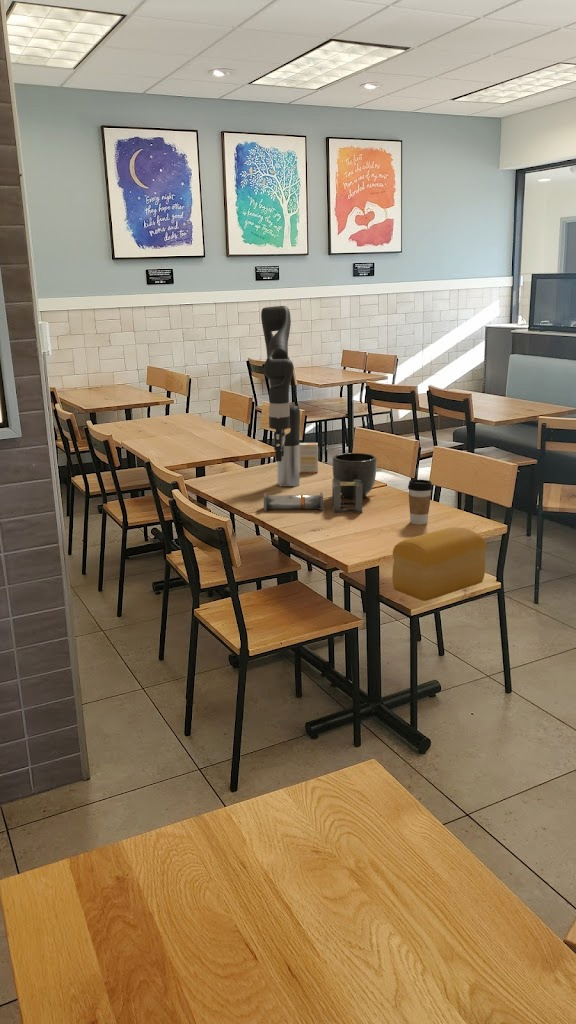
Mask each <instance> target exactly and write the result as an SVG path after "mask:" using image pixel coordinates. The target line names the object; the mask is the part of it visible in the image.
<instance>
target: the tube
mask: <svg viewBox="0 0 576 1024" xmlns="http://www.w3.org/2000/svg"><path fill="white" fill-rule="evenodd" d="M268 509H269V510H273V509H274V510H275V509H276V510H280V509H281V510H286V509H288V510H289V509H290V510H291V509H295V510H296V509H297V510H298V509H301V510H305V509H308V510H309V509H319V511H320V512H323V511H324V493H323V492H320V493H319V494H295V495H294V494H289V495H288V494H287V495H286V494H283V495H280V494H275V495H273V494H271V495H268V492H263V511H264V510H268Z"/></svg>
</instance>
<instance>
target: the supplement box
mask: <svg viewBox="0 0 576 1024" xmlns="http://www.w3.org/2000/svg"><path fill="white" fill-rule="evenodd" d="M318 445H319V444H318V442H299V473H300V472H318V471H319V446H318Z"/></svg>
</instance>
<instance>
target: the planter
mask: <svg viewBox="0 0 576 1024" xmlns="http://www.w3.org/2000/svg"><path fill="white" fill-rule="evenodd" d="M377 461H378V460H377V455H374V454H369V453H364V452H363V453H361V452H348V453H347V452H345V453H344V452H343V453H338V454H335V455H333V456H332V479H339V482H354V479H360V480H361V483H362V486H363V497H362V499H365V498H366V496H367V495H368V494H369V493H370V492H371V491H372V489H373V488H374V485H375V482H376V476H377ZM341 495H342V497H343V498H345V499H347V500H353V486H341Z"/></svg>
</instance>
